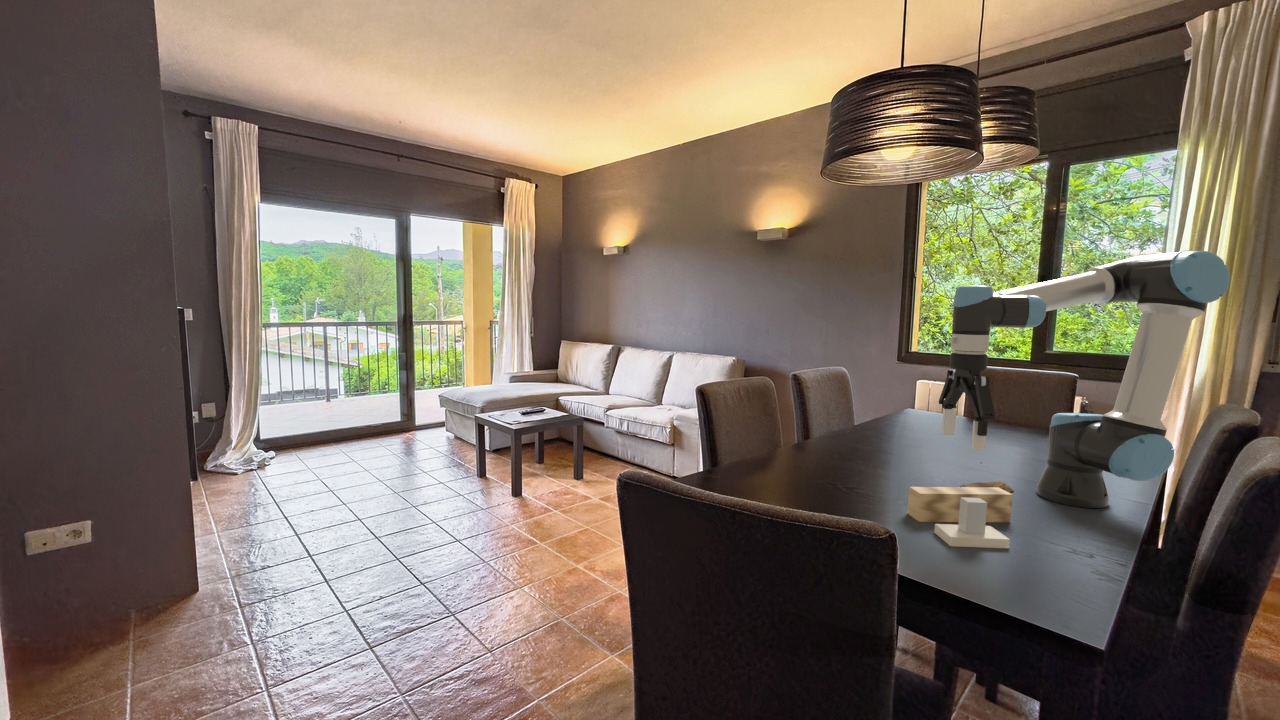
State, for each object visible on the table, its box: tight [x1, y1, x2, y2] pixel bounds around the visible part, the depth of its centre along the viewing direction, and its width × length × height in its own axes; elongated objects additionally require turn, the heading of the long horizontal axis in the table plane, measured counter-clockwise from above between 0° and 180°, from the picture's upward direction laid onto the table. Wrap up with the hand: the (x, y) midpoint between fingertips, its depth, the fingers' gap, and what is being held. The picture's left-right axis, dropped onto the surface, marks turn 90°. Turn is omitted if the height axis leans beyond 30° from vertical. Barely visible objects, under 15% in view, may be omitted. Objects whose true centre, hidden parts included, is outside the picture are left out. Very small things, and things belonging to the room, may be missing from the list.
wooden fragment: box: [959, 480, 1014, 494], centre depth 151 cm, size 26×11×1 cm, turn 124°
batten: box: [907, 486, 1014, 523], centre depth 131 cm, size 22×5×7 cm, turn 91°
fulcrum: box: [933, 497, 1011, 549], centre depth 118 cm, size 12×7×9 cm, turn 87°
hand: (962, 441), depth 129 cm, fingers open, 13 cm apart
